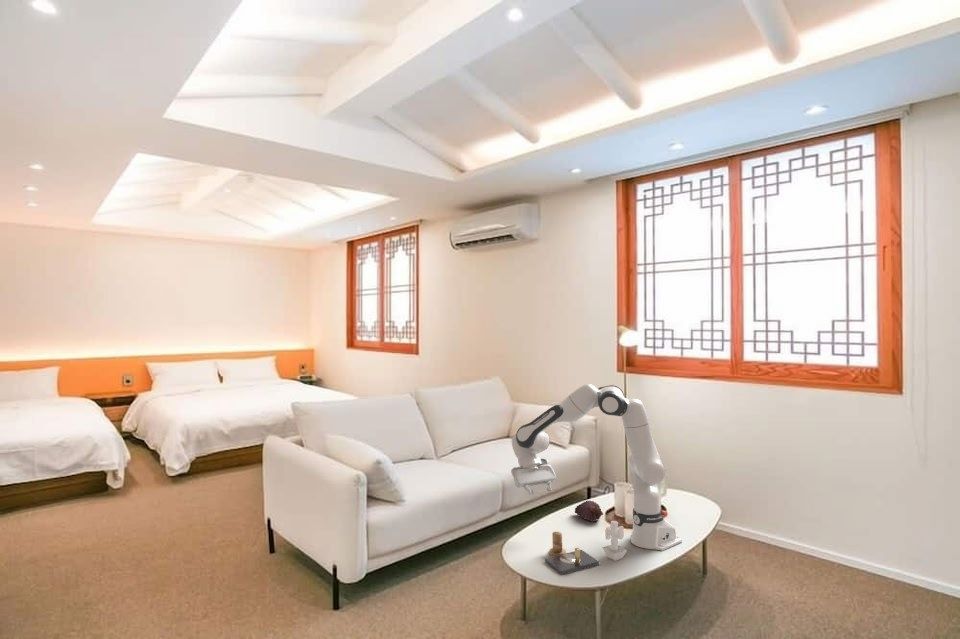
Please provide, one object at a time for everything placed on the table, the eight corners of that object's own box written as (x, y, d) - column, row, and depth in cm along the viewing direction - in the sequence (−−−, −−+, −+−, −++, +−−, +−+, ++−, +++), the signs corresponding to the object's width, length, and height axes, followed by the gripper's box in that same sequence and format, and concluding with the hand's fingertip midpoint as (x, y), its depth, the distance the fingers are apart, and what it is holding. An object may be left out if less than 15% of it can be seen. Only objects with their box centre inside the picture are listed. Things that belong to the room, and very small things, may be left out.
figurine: (613, 551, 226) (612, 516, 226) (629, 559, 218) (628, 523, 217) (600, 555, 222) (599, 519, 222) (616, 564, 214) (615, 527, 214)
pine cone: (567, 518, 263) (570, 497, 268) (581, 524, 268) (583, 504, 273) (595, 518, 250) (597, 497, 255) (608, 524, 255) (611, 503, 259)
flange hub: (559, 548, 229) (559, 529, 229) (569, 555, 223) (568, 534, 223) (546, 551, 226) (545, 532, 226) (555, 558, 220) (554, 538, 220)
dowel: (578, 562, 213) (577, 547, 213) (581, 564, 211) (580, 549, 211) (573, 563, 212) (573, 548, 212) (576, 565, 210) (576, 550, 210)
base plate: (581, 553, 224) (581, 549, 224) (599, 565, 214) (598, 561, 213) (545, 562, 217) (544, 558, 217) (561, 574, 206) (561, 570, 206)
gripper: (512, 464, 238) (523, 492, 229) (550, 459, 247) (562, 486, 238) (507, 471, 242) (518, 499, 233) (545, 466, 251) (557, 492, 242)
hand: (541, 492), depth 236 cm, fingers open, 8 cm apart
